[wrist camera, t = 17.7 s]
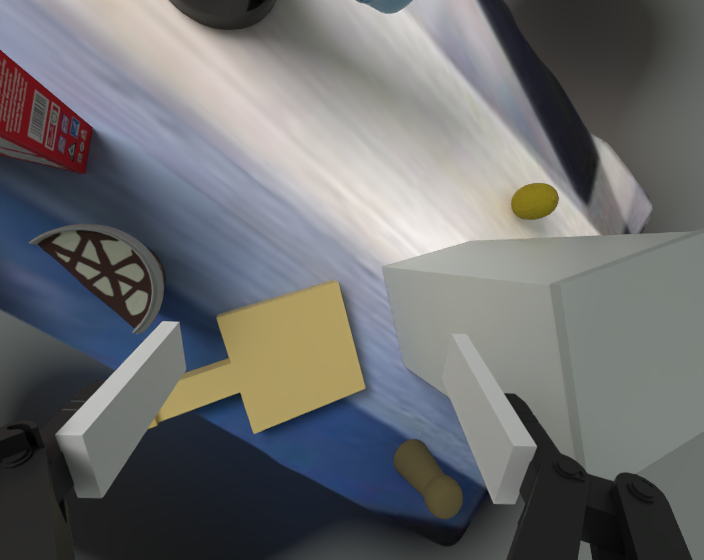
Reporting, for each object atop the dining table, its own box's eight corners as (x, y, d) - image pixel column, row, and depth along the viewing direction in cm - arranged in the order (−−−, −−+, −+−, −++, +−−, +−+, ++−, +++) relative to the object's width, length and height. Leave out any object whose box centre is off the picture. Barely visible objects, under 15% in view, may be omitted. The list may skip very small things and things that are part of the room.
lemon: (518, 181, 57) (561, 171, 50) (531, 210, 59) (575, 204, 51) (495, 199, 56) (535, 191, 49) (509, 227, 57) (550, 224, 50)
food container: (199, 283, 43) (188, 293, 34) (160, 317, 42) (137, 337, 33) (120, 206, 40) (84, 193, 30) (75, 241, 39) (22, 238, 29)
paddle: (166, 459, 44) (161, 475, 40) (122, 342, 41) (113, 350, 38) (359, 382, 51) (367, 390, 48) (333, 280, 49) (339, 281, 46)
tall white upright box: (403, 367, 53) (591, 501, 25) (380, 265, 51) (560, 284, 22) (488, 334, 58) (729, 415, 29) (471, 239, 55) (717, 227, 27)
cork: (387, 468, 54) (422, 520, 43) (406, 433, 54) (445, 476, 44) (415, 480, 56) (456, 533, 45) (433, 447, 56) (477, 491, 46)
